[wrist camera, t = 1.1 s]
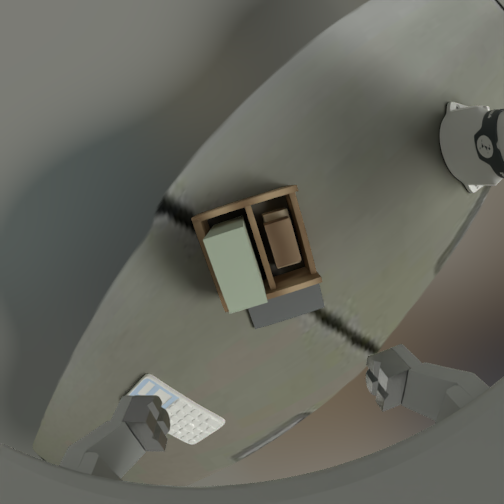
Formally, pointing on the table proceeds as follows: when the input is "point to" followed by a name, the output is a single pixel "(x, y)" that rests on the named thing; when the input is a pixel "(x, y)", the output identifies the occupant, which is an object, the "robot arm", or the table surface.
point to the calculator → (180, 411)
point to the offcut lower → (275, 215)
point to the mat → (287, 306)
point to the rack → (271, 284)
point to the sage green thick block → (235, 264)
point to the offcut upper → (282, 241)
